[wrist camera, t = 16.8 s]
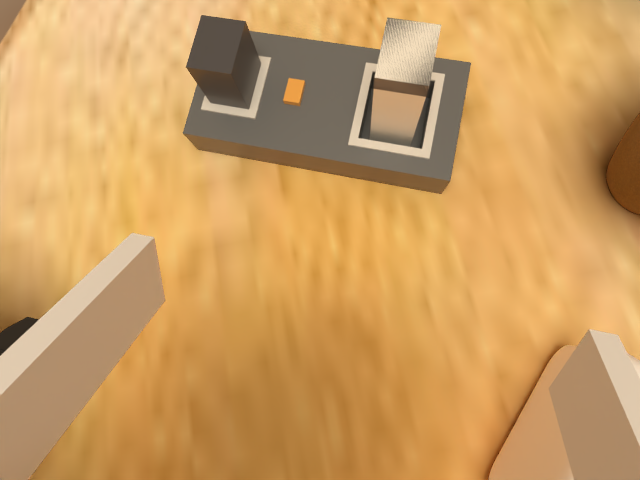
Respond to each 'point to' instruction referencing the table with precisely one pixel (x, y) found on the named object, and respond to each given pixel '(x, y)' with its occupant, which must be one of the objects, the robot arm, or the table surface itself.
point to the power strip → (314, 107)
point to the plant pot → (626, 169)
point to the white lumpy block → (538, 433)
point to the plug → (402, 79)
